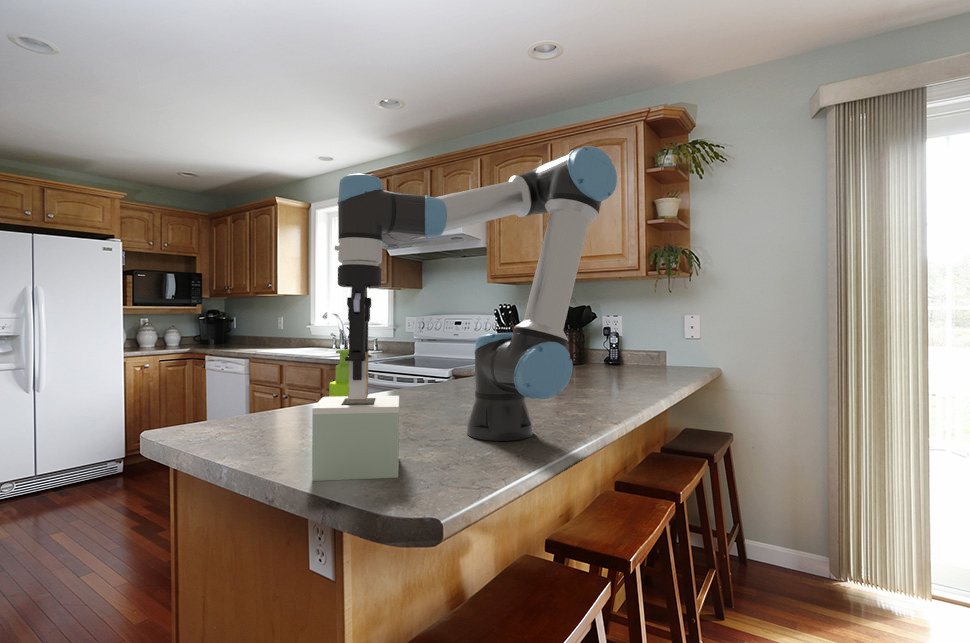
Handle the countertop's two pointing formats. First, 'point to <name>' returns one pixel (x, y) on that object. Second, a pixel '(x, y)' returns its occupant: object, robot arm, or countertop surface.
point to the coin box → (355, 438)
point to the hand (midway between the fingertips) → (358, 396)
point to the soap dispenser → (340, 377)
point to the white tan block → (366, 379)
